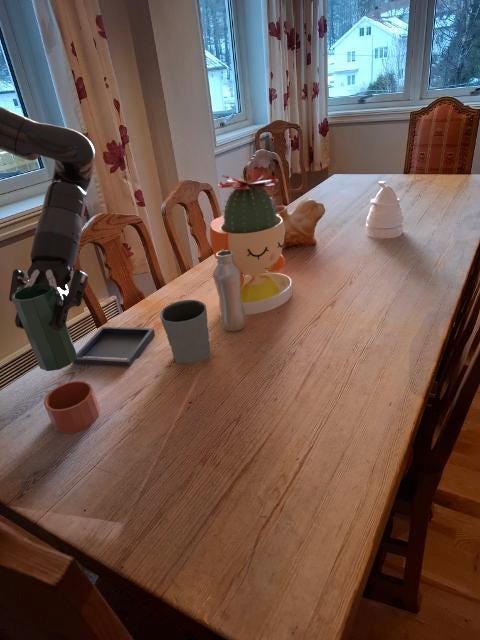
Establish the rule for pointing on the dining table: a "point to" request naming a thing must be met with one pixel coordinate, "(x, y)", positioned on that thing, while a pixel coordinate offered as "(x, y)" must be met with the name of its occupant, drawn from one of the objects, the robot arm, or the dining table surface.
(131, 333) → the tray
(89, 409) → the short cup
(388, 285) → the dining table surface
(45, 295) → the tall cup
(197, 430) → the dining table surface
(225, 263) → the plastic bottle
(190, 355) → the grey cup
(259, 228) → the potted cactus
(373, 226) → the honey pot
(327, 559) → the dining table surface
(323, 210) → the tan lumpy piece
